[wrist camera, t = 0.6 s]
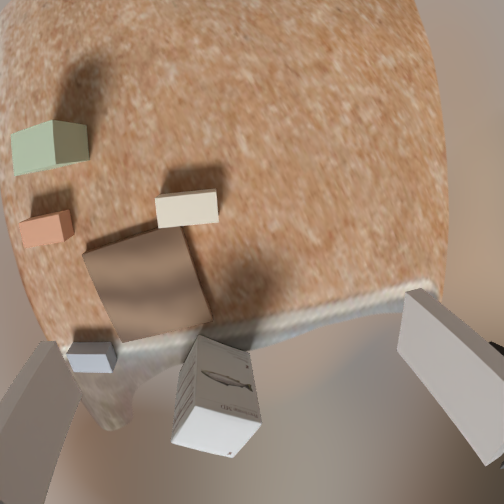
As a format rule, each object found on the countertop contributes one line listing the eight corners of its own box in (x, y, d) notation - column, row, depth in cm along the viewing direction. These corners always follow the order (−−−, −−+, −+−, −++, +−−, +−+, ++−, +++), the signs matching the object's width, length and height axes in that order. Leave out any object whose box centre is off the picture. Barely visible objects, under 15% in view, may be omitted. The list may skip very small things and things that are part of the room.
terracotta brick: (36, 241, 31) (24, 248, 28) (31, 217, 30) (18, 223, 27) (74, 234, 32) (64, 241, 29) (70, 208, 31) (58, 214, 28)
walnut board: (85, 251, 32) (81, 254, 31) (180, 220, 32) (179, 223, 31) (124, 337, 36) (122, 342, 35) (212, 316, 36) (212, 321, 35)
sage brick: (49, 135, 27) (10, 134, 20) (86, 125, 28) (52, 119, 20) (52, 169, 29) (14, 176, 21) (89, 160, 29) (55, 164, 22)
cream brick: (163, 221, 32) (158, 228, 30) (159, 194, 31) (154, 198, 29) (218, 216, 33) (218, 222, 30) (215, 188, 32) (216, 191, 29)
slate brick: (80, 358, 37) (73, 371, 34) (73, 341, 36) (66, 353, 33) (117, 359, 37) (112, 372, 34) (111, 341, 36) (105, 354, 33)
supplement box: (251, 351, 39) (266, 424, 27) (226, 388, 40) (233, 460, 29) (198, 331, 37) (195, 405, 25) (176, 372, 39) (169, 445, 27)
